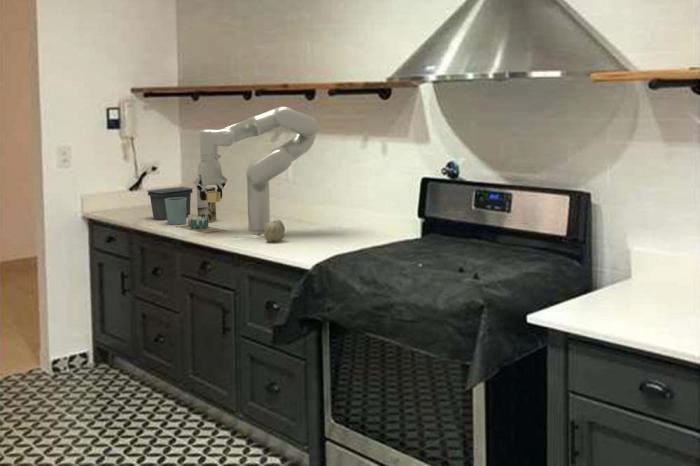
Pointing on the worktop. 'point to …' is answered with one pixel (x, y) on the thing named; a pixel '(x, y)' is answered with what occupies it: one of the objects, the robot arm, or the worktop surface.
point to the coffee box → (206, 207)
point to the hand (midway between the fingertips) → (211, 199)
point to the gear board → (199, 225)
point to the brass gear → (212, 196)
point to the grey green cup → (176, 210)
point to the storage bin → (162, 194)
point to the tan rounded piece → (274, 231)
